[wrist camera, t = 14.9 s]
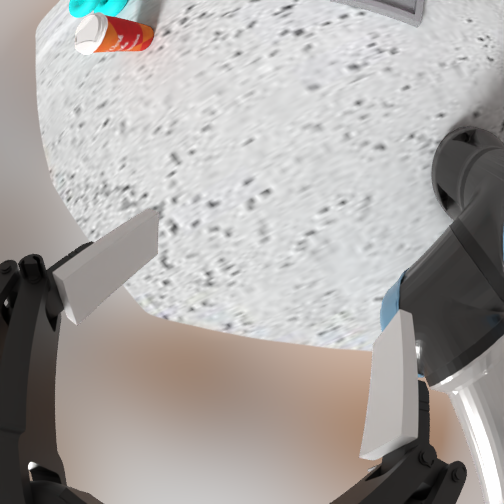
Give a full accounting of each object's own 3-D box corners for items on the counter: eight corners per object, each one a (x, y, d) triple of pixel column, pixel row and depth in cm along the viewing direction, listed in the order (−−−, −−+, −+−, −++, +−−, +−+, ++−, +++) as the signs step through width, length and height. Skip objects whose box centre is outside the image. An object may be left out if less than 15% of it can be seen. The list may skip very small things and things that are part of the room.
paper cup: (128, 60, 40) (71, 61, 28) (128, 28, 36) (73, 23, 25) (159, 49, 37) (100, 44, 26) (158, 15, 33) (102, 3, 22)
